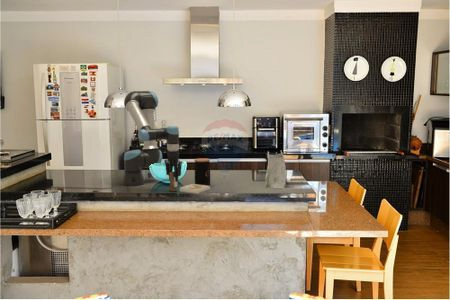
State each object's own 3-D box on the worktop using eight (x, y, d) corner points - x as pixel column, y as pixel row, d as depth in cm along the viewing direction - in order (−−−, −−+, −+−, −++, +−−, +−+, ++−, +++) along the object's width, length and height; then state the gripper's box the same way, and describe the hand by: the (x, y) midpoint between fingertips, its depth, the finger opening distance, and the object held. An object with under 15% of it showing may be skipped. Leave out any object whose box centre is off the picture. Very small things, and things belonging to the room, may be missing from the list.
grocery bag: (265, 178, 325) (265, 147, 322) (284, 178, 324) (284, 147, 321) (265, 187, 294) (265, 153, 291) (286, 188, 292) (286, 153, 289)
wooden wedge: (170, 190, 284) (169, 172, 282) (174, 189, 288) (174, 171, 286) (173, 191, 283) (172, 172, 281) (177, 189, 287) (177, 171, 285)
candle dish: (179, 191, 284) (179, 187, 284) (192, 187, 296) (192, 183, 295) (197, 194, 277) (197, 189, 276) (209, 189, 288) (209, 185, 288)
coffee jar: (208, 187, 296) (208, 160, 294) (193, 186, 298) (192, 160, 296) (211, 184, 306) (211, 158, 304) (197, 183, 309) (196, 158, 306)
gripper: (159, 150, 283) (160, 185, 286) (179, 152, 274) (179, 188, 278) (167, 148, 289) (167, 183, 292) (186, 150, 281) (186, 186, 284)
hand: (173, 186), depth 285 cm, fingers closed on wooden wedge, 3 cm apart
